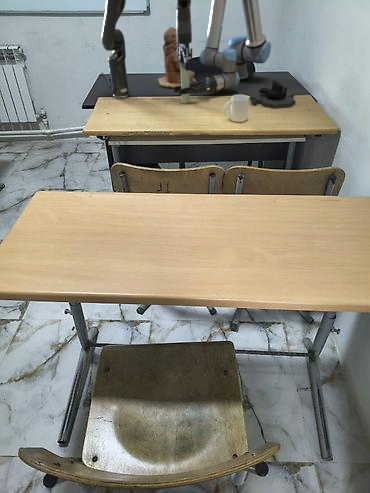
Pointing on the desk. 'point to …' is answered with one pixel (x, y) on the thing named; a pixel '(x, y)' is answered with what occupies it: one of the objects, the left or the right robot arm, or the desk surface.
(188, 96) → the bottle
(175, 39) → the sculpture
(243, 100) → the mug
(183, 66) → the lid
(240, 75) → the right robot arm
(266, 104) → the abstract sculpture
